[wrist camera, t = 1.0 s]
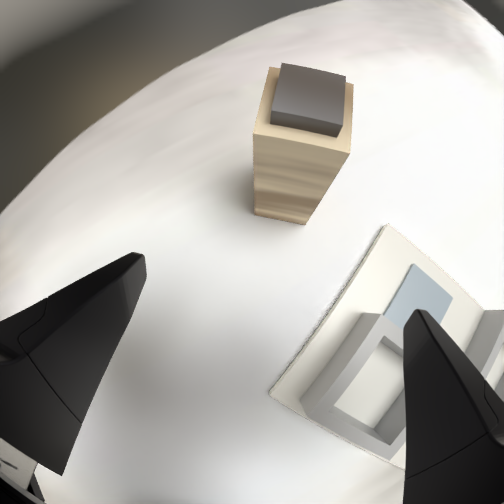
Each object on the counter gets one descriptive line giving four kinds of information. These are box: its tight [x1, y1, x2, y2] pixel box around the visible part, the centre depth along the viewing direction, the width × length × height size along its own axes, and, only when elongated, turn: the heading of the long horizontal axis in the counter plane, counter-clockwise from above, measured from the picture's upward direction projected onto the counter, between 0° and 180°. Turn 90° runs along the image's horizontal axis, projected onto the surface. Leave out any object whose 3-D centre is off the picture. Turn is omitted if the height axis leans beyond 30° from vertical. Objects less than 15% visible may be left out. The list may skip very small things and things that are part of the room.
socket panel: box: [269, 223, 504, 470], centre depth 19 cm, size 16×22×4 cm
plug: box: [253, 63, 353, 225], centre depth 17 cm, size 4×4×13 cm
